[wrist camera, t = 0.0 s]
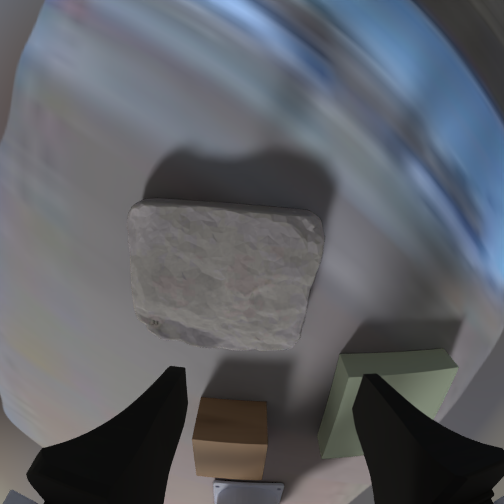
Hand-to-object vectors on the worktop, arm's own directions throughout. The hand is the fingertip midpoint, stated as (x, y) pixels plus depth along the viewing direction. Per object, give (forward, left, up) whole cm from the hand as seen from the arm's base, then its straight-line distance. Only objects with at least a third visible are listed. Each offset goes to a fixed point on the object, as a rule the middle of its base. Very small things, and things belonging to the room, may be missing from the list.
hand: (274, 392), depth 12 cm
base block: (-10, -11, -10) cm, 18 cm away
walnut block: (-13, +2, -10) cm, 17 cm away
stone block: (+1, +3, -11) cm, 11 cm away
